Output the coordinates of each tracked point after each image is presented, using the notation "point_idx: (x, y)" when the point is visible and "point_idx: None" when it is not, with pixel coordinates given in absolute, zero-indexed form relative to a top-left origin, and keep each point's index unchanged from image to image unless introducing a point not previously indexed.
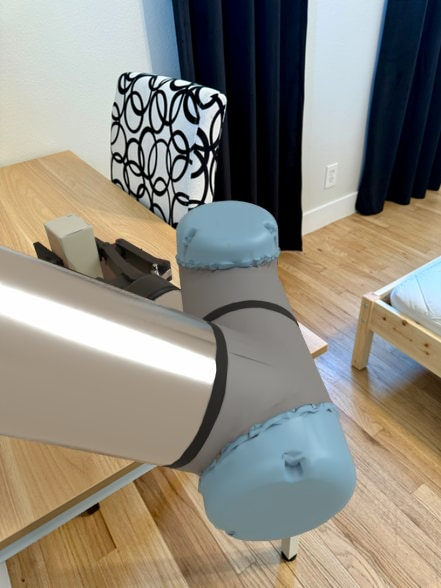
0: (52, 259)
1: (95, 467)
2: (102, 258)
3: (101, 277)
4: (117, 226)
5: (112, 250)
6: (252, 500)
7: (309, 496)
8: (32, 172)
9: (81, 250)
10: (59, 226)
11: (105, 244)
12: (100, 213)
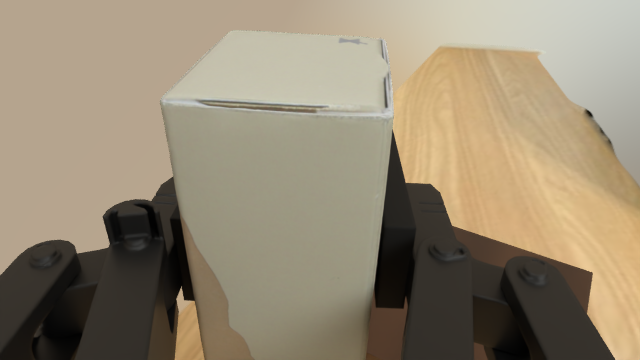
0: None
1: None
2: (475, 244)
3: None
4: (554, 188)
5: (453, 317)
6: None
7: None
8: (467, 61)
9: (277, 227)
10: (250, 56)
11: (443, 253)
12: (533, 152)
